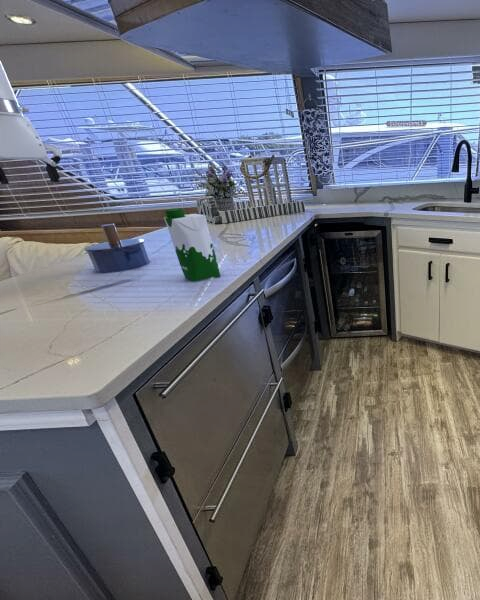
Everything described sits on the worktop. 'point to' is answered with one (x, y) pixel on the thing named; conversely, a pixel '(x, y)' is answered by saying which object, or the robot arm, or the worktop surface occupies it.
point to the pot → (119, 259)
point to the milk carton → (192, 244)
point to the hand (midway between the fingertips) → (31, 183)
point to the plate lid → (113, 241)
